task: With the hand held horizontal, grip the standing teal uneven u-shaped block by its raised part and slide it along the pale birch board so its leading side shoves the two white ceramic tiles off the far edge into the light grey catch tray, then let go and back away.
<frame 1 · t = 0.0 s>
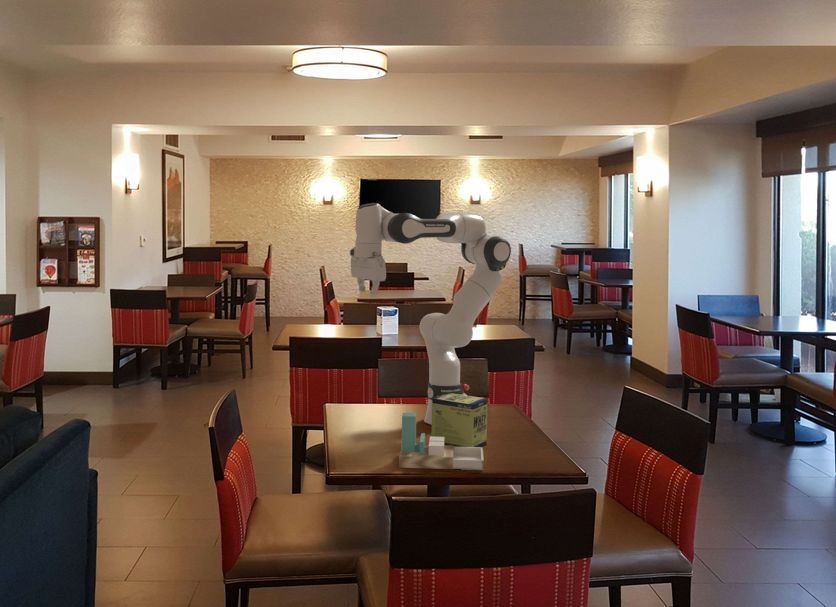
hand: (368, 292, 285), 48 cm above the table, tool pointing down, fingers open, 8 cm apart
tile b: (436, 453, 252), point 3 cm above the table, touching board
tray: (467, 462, 255), on the table
protein box: (458, 445, 275), on the table
teal uneven u-shaped block: (408, 450, 255), point 3 cm above the table, touching board
tile a: (436, 448, 258), point 3 cm above the table, touching board
board: (426, 461, 255), on the table
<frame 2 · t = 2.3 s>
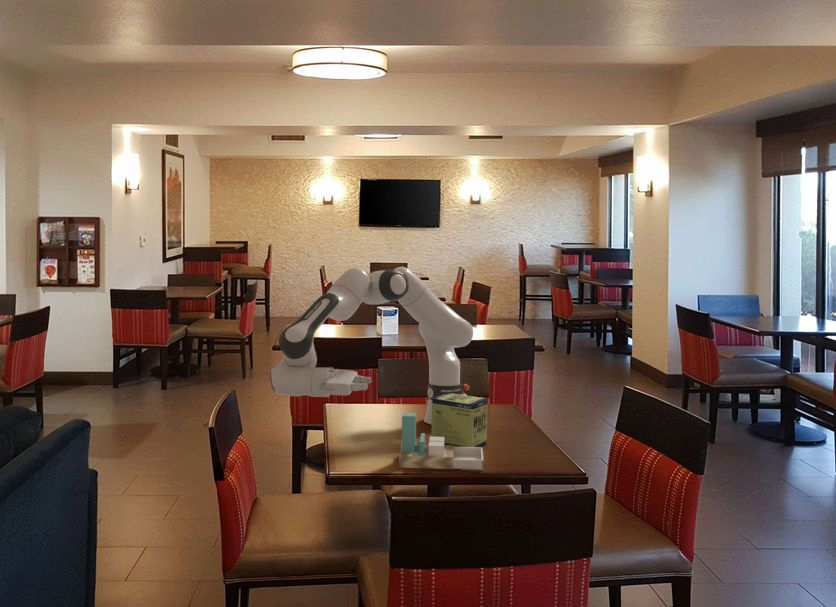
hand: (369, 383, 254), 24 cm above the table, tool horizontal, fingers open, 8 cm apart
nothing on the table moved.
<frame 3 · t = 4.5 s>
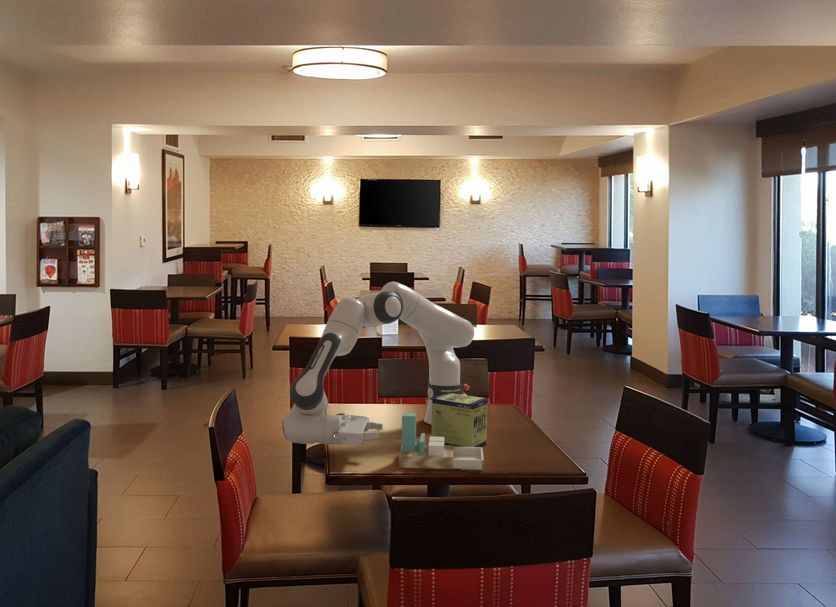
hand: (381, 430, 255), 9 cm above the table, tool horizontal, fingers open, 8 cm apart
nothing on the table moved.
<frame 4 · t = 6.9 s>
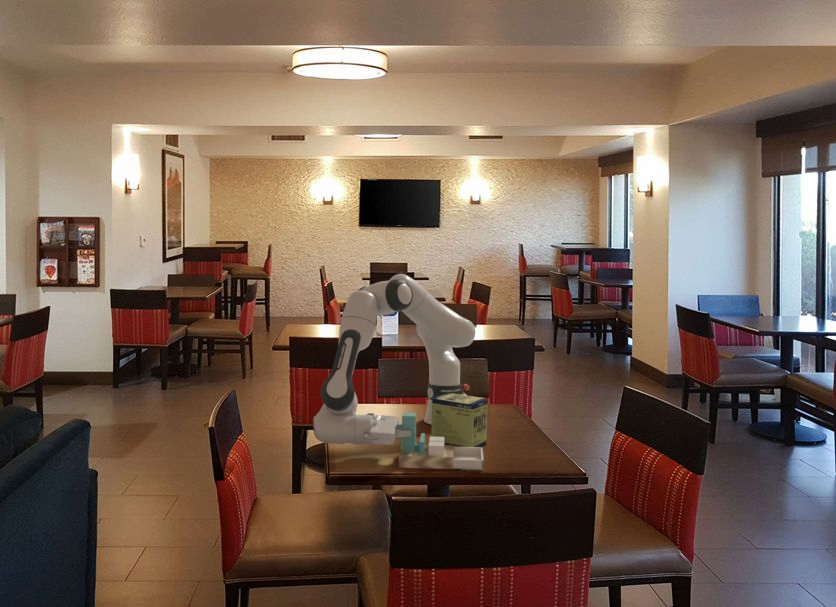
hand: (411, 430, 255), 10 cm above the table, tool horizontal, fingers closed on teal uneven u-shaped block, 4 cm apart
teal uneven u-shaped block: (408, 450, 255), point 3 cm above the table, touching board, gripper
everything else where it was.
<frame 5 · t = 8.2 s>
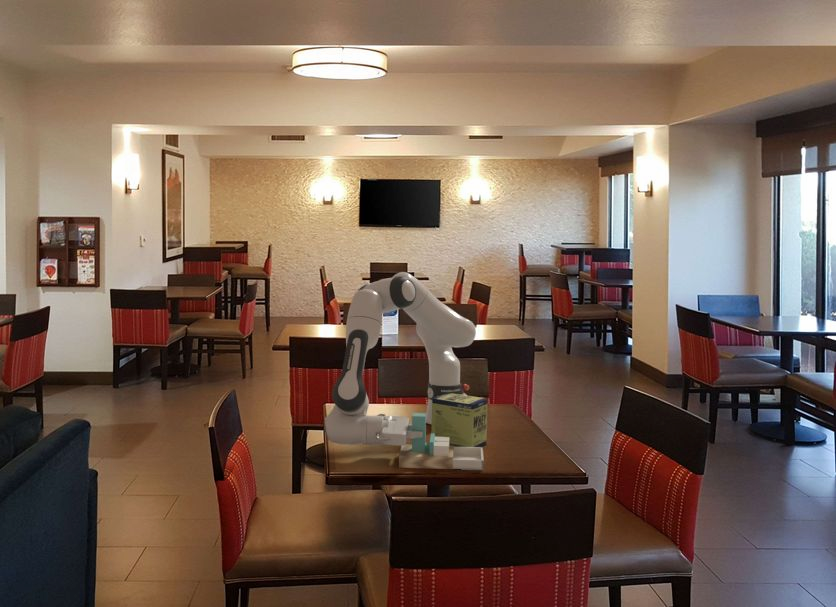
hand: (423, 431, 255), 9 cm above the table, tool horizontal, fingers closed on teal uneven u-shaped block, 4 cm apart
tile b: (441, 453, 252), point 4 cm above the table, touching board, teal uneven u-shaped block
teal uneven u-shaped block: (418, 450, 255), point 4 cm above the table, touching gripper, tile b
tile a: (441, 448, 258), point 4 cm above the table
everything else where it was.
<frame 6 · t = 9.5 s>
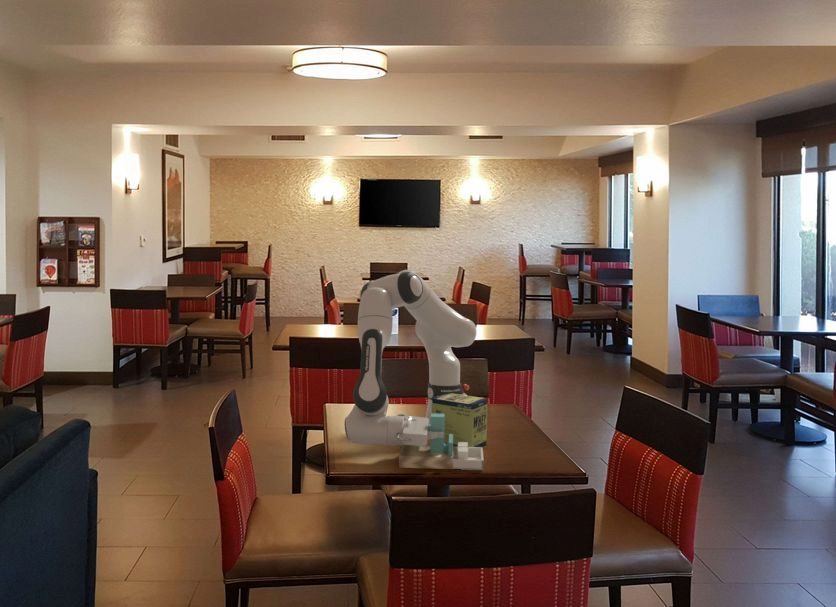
hand: (443, 432, 254), 9 cm above the table, tool horizontal, fingers closed on teal uneven u-shaped block, 4 cm apart
tile b: (457, 456, 252), point 3 cm above the table, tilted 90°, touching tray
teal uneven u-shaped block: (437, 450, 255), point 4 cm above the table, touching gripper
tile a: (457, 451, 257), point 3 cm above the table, tilted 90°, touching tray
everything else where it was.
when the fingers open (9 cm above the table, at t = 11.5 s): teal uneven u-shaped block stays where it is, resting on board.
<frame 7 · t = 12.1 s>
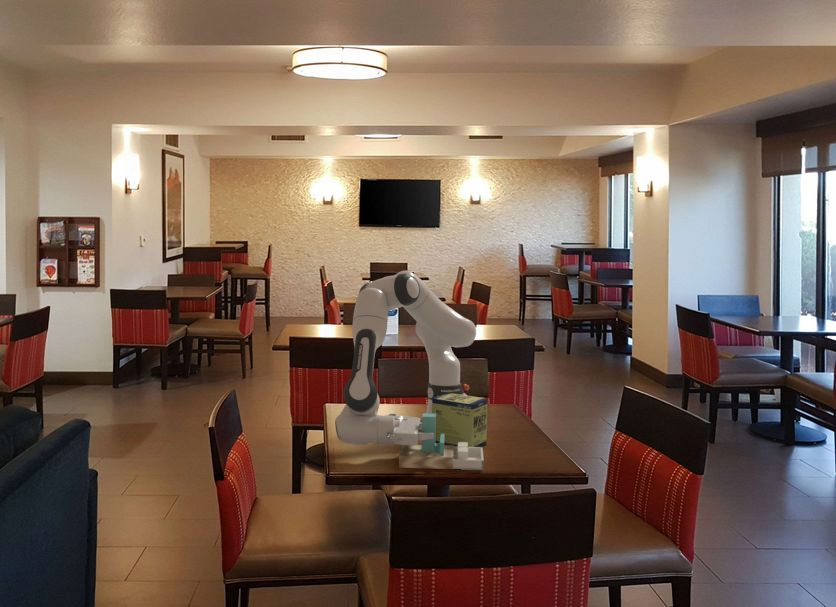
hand: (434, 431, 254), 9 cm above the table, tool horizontal, fingers open, 8 cm apart
teal uneven u-shaped block: (428, 450, 255), point 3 cm above the table, touching board
everything else where it was.
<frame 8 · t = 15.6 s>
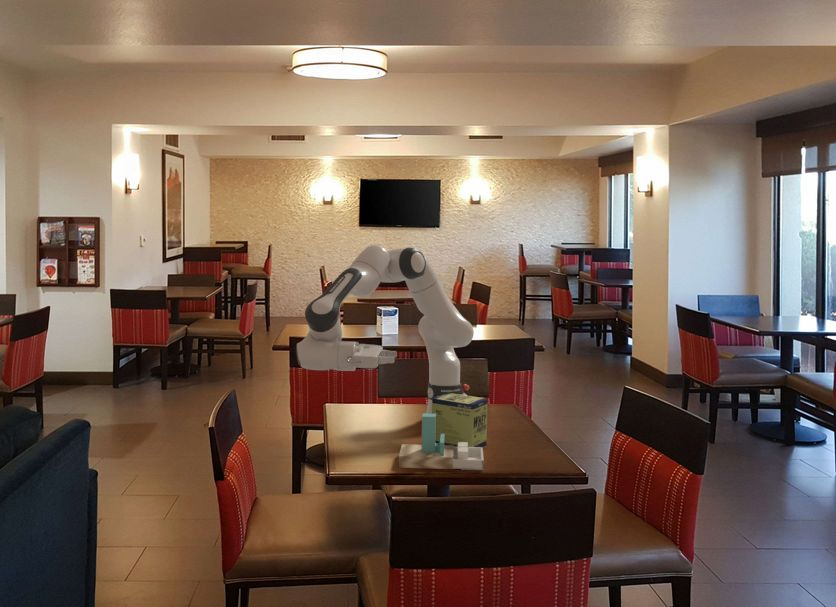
hand: (395, 357, 252), 32 cm above the table, tool horizontal, fingers open, 8 cm apart
nothing on the table moved.
at the end: tile a inside the target area on the tray (4.2 cm from its centre), point 2.7 cm above the tray's base; tile b inside the target area on the tray (4.3 cm from its centre), point 2.7 cm above the tray's base; the gripper is holding nothing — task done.
